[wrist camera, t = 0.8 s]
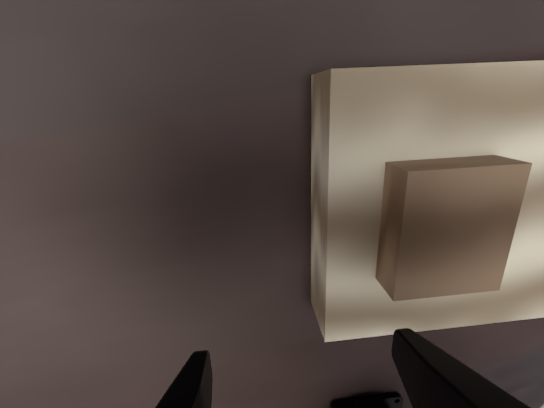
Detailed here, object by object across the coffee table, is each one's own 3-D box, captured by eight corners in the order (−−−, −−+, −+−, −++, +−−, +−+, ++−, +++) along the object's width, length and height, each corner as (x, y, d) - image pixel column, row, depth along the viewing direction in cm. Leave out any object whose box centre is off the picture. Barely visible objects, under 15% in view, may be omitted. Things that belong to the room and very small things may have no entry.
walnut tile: (470, 268, 18) (499, 290, 16) (375, 277, 18) (393, 301, 16) (494, 154, 16) (532, 163, 14) (385, 161, 15) (408, 171, 13)
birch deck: (505, 282, 24) (554, 316, 20) (310, 301, 23) (324, 342, 19) (562, 64, 19) (644, 56, 15) (311, 75, 17) (330, 68, 14)
